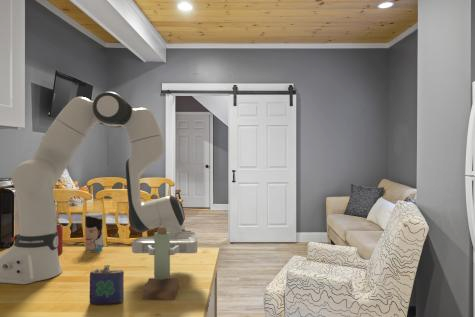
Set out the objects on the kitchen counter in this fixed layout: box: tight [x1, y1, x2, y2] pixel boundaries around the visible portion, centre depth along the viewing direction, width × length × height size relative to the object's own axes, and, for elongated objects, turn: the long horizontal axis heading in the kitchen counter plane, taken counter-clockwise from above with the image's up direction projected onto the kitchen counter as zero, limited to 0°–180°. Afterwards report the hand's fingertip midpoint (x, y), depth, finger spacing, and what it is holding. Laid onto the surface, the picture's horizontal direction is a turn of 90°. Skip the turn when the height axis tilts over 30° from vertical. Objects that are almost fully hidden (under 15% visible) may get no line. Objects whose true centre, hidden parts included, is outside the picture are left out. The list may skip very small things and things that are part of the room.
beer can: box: [56, 222, 64, 255], centre depth 149 cm, size 7×7×12 cm
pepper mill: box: [153, 226, 171, 279], centre depth 110 cm, size 5×5×15 cm
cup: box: [84, 212, 104, 252], centre depth 155 cm, size 7×7×15 cm
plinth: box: [142, 277, 180, 301], centre depth 111 cm, size 9×9×3 cm
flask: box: [89, 264, 125, 306], centre depth 103 cm, size 9×3×11 cm, turn 95°
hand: (161, 252), depth 109 cm, fingers closed on pepper mill, 5 cm apart
